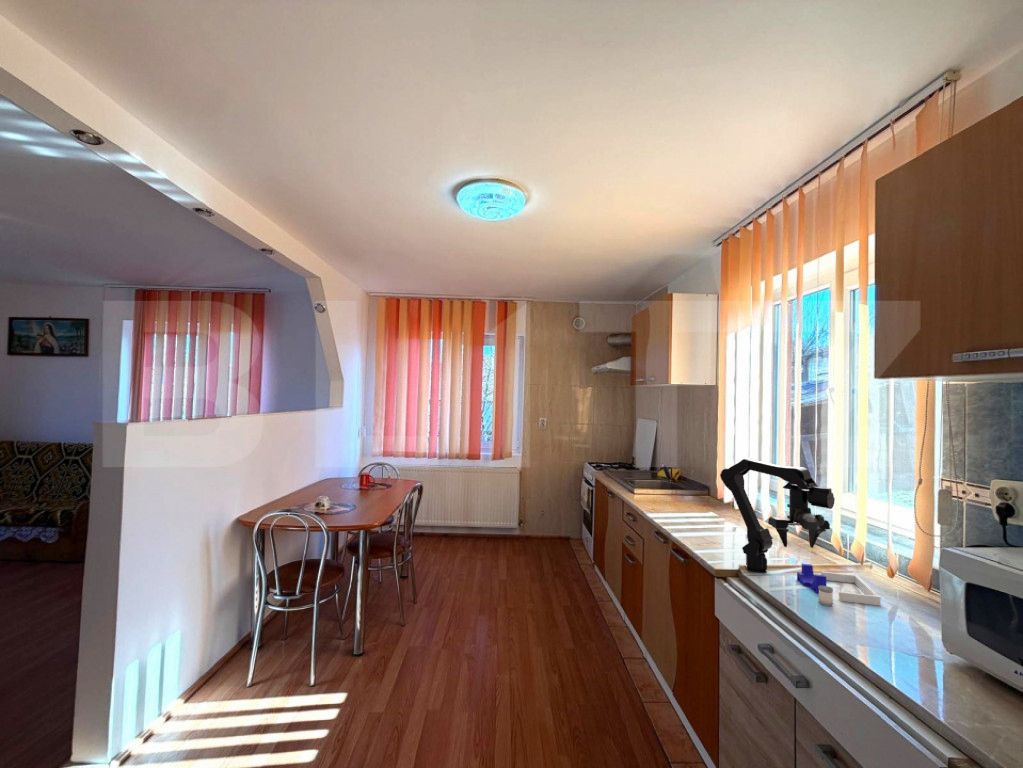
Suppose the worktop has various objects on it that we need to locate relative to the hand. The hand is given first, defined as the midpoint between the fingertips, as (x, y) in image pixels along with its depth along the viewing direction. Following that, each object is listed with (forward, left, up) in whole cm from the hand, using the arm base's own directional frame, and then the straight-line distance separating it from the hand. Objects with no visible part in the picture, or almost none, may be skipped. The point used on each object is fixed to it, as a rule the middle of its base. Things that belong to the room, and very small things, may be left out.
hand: (798, 547), depth 167 cm
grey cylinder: (+4, -17, -12) cm, 21 cm away
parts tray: (+14, -3, -12) cm, 19 cm away
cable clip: (+3, -3, -13) cm, 13 cm away
